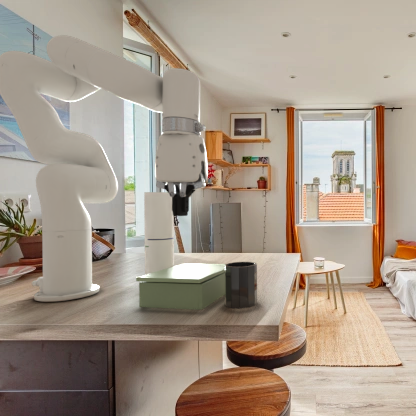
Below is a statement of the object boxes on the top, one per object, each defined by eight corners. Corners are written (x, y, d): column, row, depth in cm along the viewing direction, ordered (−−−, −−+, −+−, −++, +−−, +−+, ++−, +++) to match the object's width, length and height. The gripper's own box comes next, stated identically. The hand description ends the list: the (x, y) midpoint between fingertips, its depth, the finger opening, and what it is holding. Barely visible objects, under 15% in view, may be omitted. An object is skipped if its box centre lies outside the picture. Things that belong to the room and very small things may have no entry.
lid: (199, 283, 63) (199, 279, 63) (136, 281, 65) (136, 277, 65) (235, 267, 82) (235, 264, 82) (184, 266, 83) (184, 263, 84)
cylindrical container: (162, 288, 84) (162, 191, 84) (138, 287, 85) (138, 192, 85) (179, 282, 91) (178, 193, 91) (156, 281, 92) (156, 193, 92)
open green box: (202, 313, 64) (201, 284, 64) (139, 310, 66) (139, 282, 66) (235, 290, 82) (235, 267, 82) (185, 288, 84) (184, 266, 84)
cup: (220, 311, 65) (219, 266, 65) (232, 302, 72) (232, 261, 72) (250, 312, 64) (250, 267, 64) (260, 303, 71) (260, 261, 71)
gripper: (221, 133, 72) (220, 215, 73) (159, 134, 75) (159, 214, 75) (205, 125, 65) (204, 217, 65) (137, 126, 67) (136, 215, 67)
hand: (180, 215), depth 70 cm, fingers closed
